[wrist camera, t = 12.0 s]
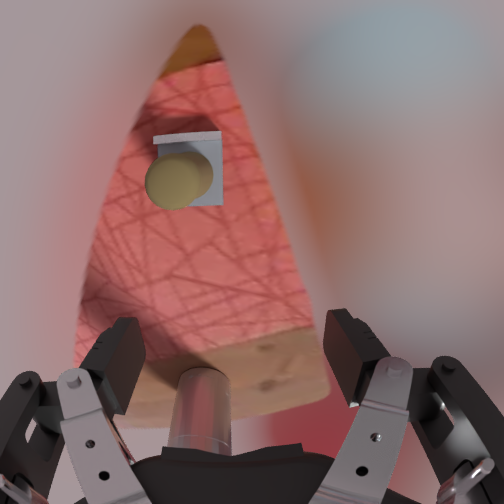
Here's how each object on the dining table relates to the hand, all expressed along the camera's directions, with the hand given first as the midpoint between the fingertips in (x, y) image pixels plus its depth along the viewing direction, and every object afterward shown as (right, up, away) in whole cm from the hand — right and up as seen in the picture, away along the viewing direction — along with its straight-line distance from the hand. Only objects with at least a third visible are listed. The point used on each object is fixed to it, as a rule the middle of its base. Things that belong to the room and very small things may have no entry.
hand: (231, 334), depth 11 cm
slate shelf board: (-7, +13, +22) cm, 26 cm away
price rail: (-7, +17, +20) cm, 27 cm away
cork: (-7, +13, +21) cm, 26 cm away
